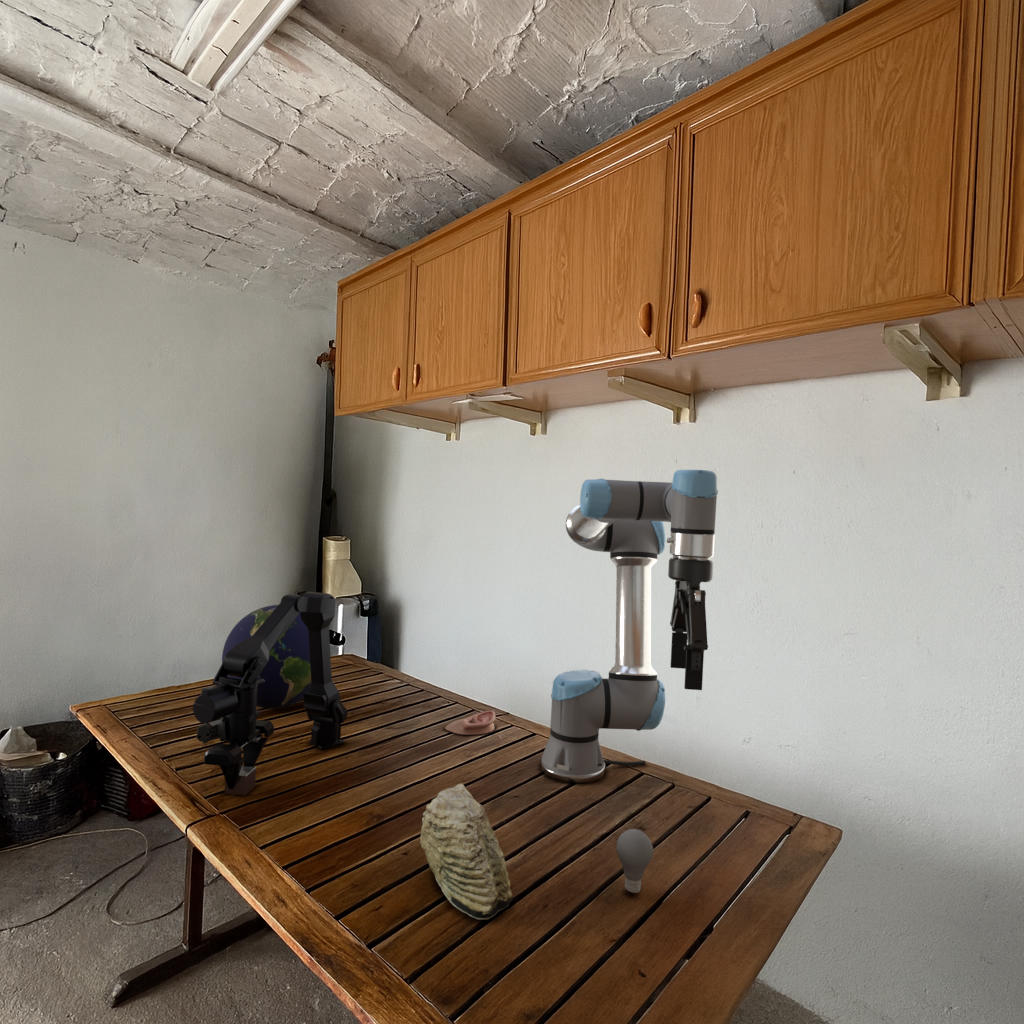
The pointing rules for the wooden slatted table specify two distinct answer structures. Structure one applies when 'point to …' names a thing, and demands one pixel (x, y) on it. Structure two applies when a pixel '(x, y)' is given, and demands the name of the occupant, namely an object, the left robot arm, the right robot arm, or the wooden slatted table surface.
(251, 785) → the block
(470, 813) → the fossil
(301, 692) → the globe
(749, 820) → the wooden slatted table surface
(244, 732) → the left robot arm
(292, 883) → the wooden slatted table surface
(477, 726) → the anatomical model
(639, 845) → the light bulb
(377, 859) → the wooden slatted table surface
